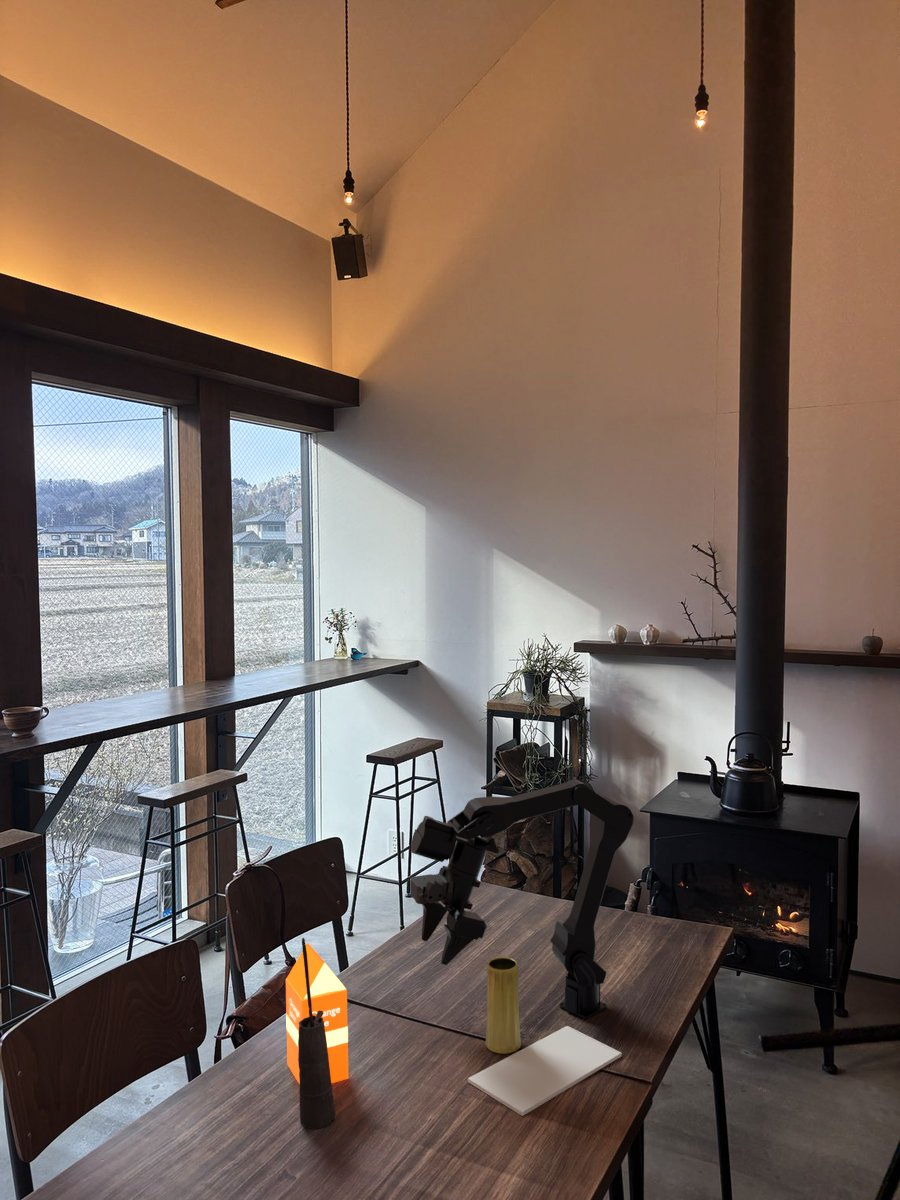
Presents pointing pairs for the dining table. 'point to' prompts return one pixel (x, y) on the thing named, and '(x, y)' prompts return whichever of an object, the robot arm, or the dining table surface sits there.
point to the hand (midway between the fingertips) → (433, 952)
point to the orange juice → (325, 998)
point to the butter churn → (314, 1066)
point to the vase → (502, 1006)
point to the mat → (544, 1069)
